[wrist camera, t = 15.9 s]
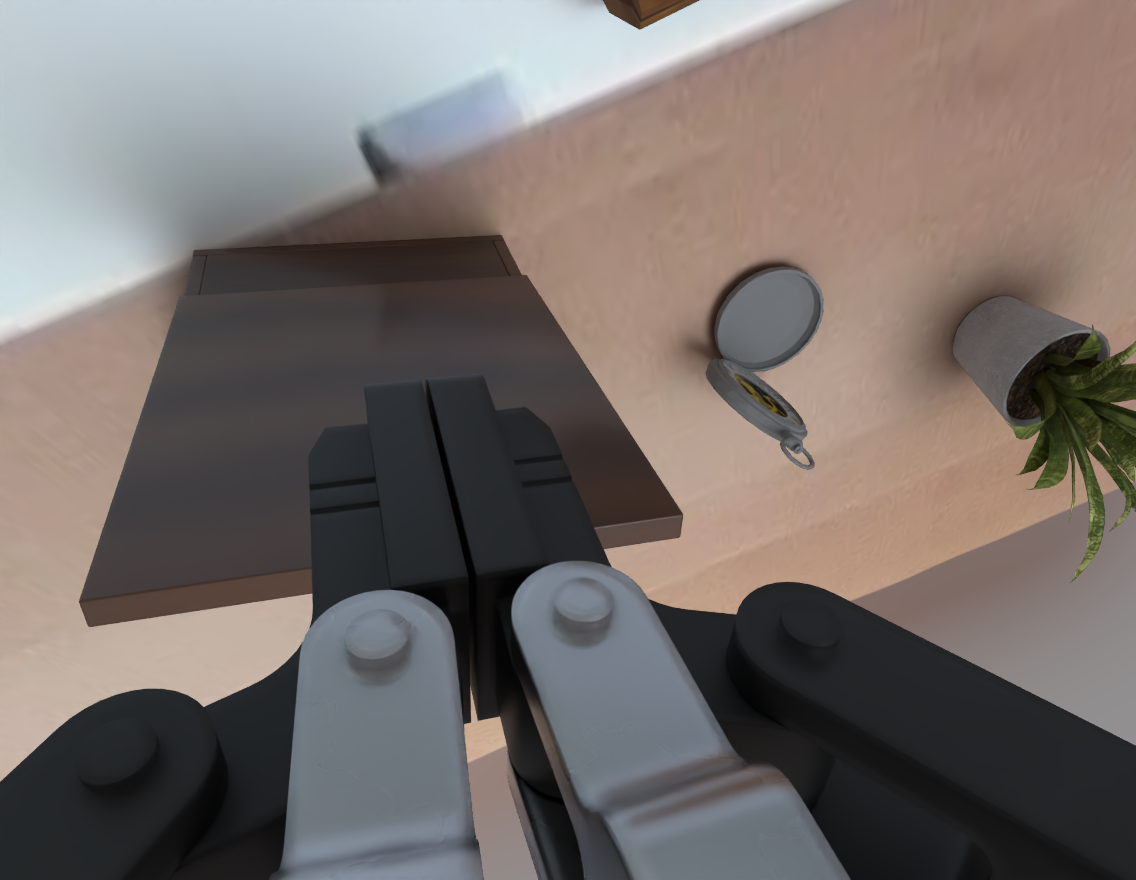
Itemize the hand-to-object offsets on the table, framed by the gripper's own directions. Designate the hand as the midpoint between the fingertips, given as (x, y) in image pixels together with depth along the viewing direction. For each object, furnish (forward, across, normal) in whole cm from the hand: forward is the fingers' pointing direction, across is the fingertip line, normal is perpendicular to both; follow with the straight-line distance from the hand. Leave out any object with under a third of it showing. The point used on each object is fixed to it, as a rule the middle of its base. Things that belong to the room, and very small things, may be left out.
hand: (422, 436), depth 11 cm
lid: (+14, 0, +9) cm, 17 cm away
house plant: (+29, -40, +19) cm, 53 cm away
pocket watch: (+29, -22, +16) cm, 40 cm away
